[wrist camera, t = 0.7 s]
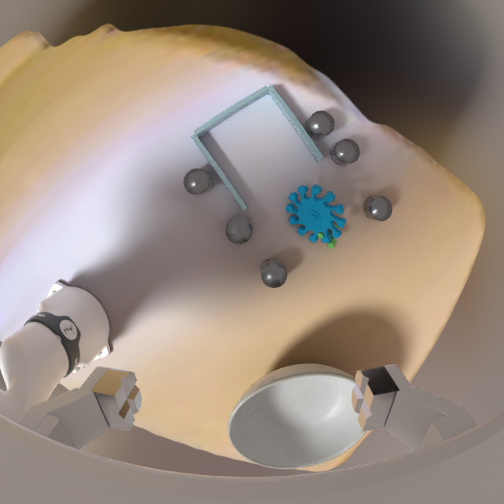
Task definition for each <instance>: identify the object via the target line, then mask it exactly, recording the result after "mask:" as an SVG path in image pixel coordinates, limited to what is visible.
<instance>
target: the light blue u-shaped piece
mask: <svg viewBox="0 0 504 504" xmlns="http://www.w3.org/2000/svg"><path fill="white" fill-rule="evenodd" d="M267 93H268V94H269V95H270V96H271V98H272V99H273V100H274V101H275V103H276V104H277V105H278V107H279V108H280V109H281V111H282V112H283V113H284V115H285V116H286V117H287V119H288V120H289V121H290V123H291V124H292V126H293V127H294V128H295V130H296V131H297V133H298V134H299V135H300V137H301V138H302V140H303V141H304V143H305V144H306V145H307V147H308V148H309V150H310V151H311V153H312V154H313V156H314V157H315V159H316V160H317V161H319V160H321V159H323V158H324V157H323V155H322V154H321V152H320V151H319V149H318V148H317V146H316V145H315V143H314V142H313V140H312V139H311V138H310V136H309V135H308V133H307V132H306V130H305V129H304V128H303V126H302V125H301V123H300V122H299V121H298V119H297V118H296V117H295V115H294V114H293V112H292V111H291V110H290V108H289V107H288V106H287V104H286V103H285V102H284V101H283V99H282V98H281V97H280V95H279V94H278V93H277V92H276V90H275V89H274V88H273V86H272V85H271V86H269V87H267V86H265V87H263V88H261V89H259V90H258V91H256V92H254V93H252V94H251V95H249V96H247V97H246V98H244V99H242V100H241V101H239V102H238V103H236V104H234V105H233V106H231V107H230V108H228V109H226V110H225V111H223V112H222V113H220V114H219V115H217V116H216V117H214V118H213V119H211V120H210V121H208V122H207V123H205V124H204V125H202V126H201V127H199V128H198V129H197V130H195V131H194V133H195V134H193V135H192V136H191V137H192V139H193V140H194V141H195V143H196V144H197V146H198V147H199V148H200V150H201V151H202V153H203V154H204V156H205V157H206V158H207V160H208V161H209V163H210V164H211V165H212V167H213V168H214V170H215V171H216V172H217V174H218V175H219V177H220V178H221V180H222V181H223V182H224V184H225V185H226V187H227V188H228V190H229V191H230V192H231V194H232V195H233V197H234V198H235V200H236V201H237V202H238V204H239V205H240V207H241V208H242V210H243V211H244V210H245V209H247V208H248V207H247V206H246V204H245V203H244V201H243V200H242V199H241V197H240V196H239V194H238V193H237V191H236V190H235V189H234V187H233V186H232V184H231V183H230V181H229V180H228V179H227V177H226V176H225V174H224V173H223V171H222V170H221V169H220V167H219V166H218V164H217V163H216V162H215V160H214V159H213V157H212V156H211V155H210V153H209V152H208V150H207V149H206V148H205V146H204V145H203V143H202V142H201V141H200V139H199V137H200V136H201V135H203V134H204V133H206V132H207V131H209V130H210V129H212V128H213V127H215V126H216V125H218V124H219V123H221V122H222V121H224V120H225V119H227V118H228V117H230V116H231V115H233V114H234V113H236V112H238V111H239V110H241V109H242V108H244V107H246V106H247V105H249V104H251V103H252V102H254V101H256V100H257V99H259V98H261V97H262V96H264V95H266V94H267Z"/></svg>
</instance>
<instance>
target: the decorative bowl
mask: <svg viewBox="0 0 504 504" xmlns="http://www.w3.org/2000/svg"><path fill="white" fill-rule="evenodd" d="M356 384H357V383H356V381H355V377H353V376H351V375H350V374H348V373H346V372H344V371H342V370H340V369H337V368H334V367H331V366H327V365H321V364H296V365H290V366H286V367H283V368H280V369H277V370H275V371H273V372H271V373H269V374H267V375H265V376H263V377H262V378H260V379H259V380H258V381H256V382H255V383H254V384H253V385H252V386H251V387H249V388H248V390H247V391H246V392H245V393H244V394H243V395H242V396H241V398H240V399H239V401H238V402H237V404H236V405H235V407H234V409H233V411H232V413H231V415H230V418H229V421H228V428H227V431H228V437H229V440H230V442H231V444H232V446H233V447H234V448H235V450H236V451H237V452H238V453H239V454H240V455H242V456H243V457H244V458H246V459H248V460H250V461H252V462H254V463H256V464H259V465H262V466H266V467H271V468H279V469H296V468H304V467H309V466H314V465H317V464H321V463H324V462H326V461H329V460H331V459H333V458H335V457H337V456H339V455H341V454H343V453H344V452H346V451H347V450H349V449H350V448H351V447H353V446H354V445H355V444H356V443H357V442H358V441H359V440H360V439H361V438H362V437H363V436H364V434H365V433H366V432H367V431H362V429H361V426H360V424H359V422H358V416H359V414H358V413H356V412H355V411H354V409H353V406H352V390H353V388H354V386H355V385H356Z"/></svg>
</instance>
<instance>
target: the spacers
mask: <svg viewBox="0 0 504 504" xmlns="http://www.w3.org/2000/svg"><path fill="white" fill-rule="evenodd" d="M333 128H334V119H333V118H332V116H331V115H330V114H329V113H327V112H325V111H317V112H315V113H313V114H312V116H311V117H310V118H309V119H308V120H307V122H306V130H307V132H308V134H309V135H311V136H312V137H314V138H323V137H324V136H326V135H327V134H329V133H330V132H331V131H332V130H333ZM330 154H331V158H332V159H333V161H334V162H335V163H337V164H339V165H346V164H350V163H353V162H355V161H356V160H357V159H358V158H359V154H360V150H359V147H358V145H357V144H356V143H355V142H354V141H353V140H350V139H343V140H341V141H339V142H337V143H336V144H334V145H333V146H332V148H331V151H330ZM184 186H185V188H186V190H187V191H188V192H190V193H191V194H204V193H206V192H208V191H209V190H210V188H211V186H212V178H211V176H210V174H209V173H207V172H206V171H204V170H202V169H192V170H190V171H189V172H188V173H187V174H186V176H185V178H184ZM364 212H365V214H366V216H367V217H369V218H371V219H375V220H379V221H385V220H387V219H388V218H389V217H390V216H391V213H392V205H391V202H390V201H389V200H388V199H387V198H385V197H376V196H372V197H369V198H368V199H367V200H366V201H365V203H364ZM226 234H227V237H228V238H229V240H230V241H232V242H233V243H236V244H242V243H245V242H247V241H248V240H249V239H250V237H251V235H252V225H251V222H250V221H249V220H248V219H247V218H246V217H243V216H237V217H234V218H233V219H231V220H230V222H229V223H228V225H227V228H226ZM261 275H262V280H263V282H264V283H265V284H266V285H267V286H268V287H271V288H277V287H280V286H281V285H283V284H284V283H285V281H286V278H287V272H286V270H285V268H284V265H283V264H282V262H281V261H279V260H277V259H268V260H266V261H265V262H264V263H263V264H262V266H261Z"/></svg>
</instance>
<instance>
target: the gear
mask: <svg viewBox="0 0 504 504" xmlns="http://www.w3.org/2000/svg"><path fill="white" fill-rule="evenodd" d="M307 190H308V188H307V186H300V187H298V192H299V193H300V195H301V199H302V202H300V201H299V200H298V194H297V193H296V192H293V193H292V194H291V195H289V196H288V198H289V200H291V201H292V202H294V203H295V205H296V206H297V208H298V210H297V209H296V208H295V207H294V205H293V204H292V203H289V204H288V205H287V206H286V211H287V212H291V213H294V214H295V215H297V216H298V217H299V219H298V218H297V217H296V216H291V217H290V218H289V222H290V224H291V225H294V224H302V225H304V226H305V227H300V228H299V229H298V230H297V232H298V233H299V234H300V236H303V235H304V234H305V233H306V231H309V230H312V231H313V232H314V233H313V234H311V236H310V237H309V240H310V241H312V242H314V243H315V242H316V241H317V240H318V237H319V238H322V242H323V243H328V247H329V248H331V249H332V248H333V247H334V246H335V244H336V240H335V239H333V238H338V237H340V235H341V234H342V232H341V231H340V230H339V229H337V225H338V227H340V228H343V226H344V225H345V223H346V219H344V218H340V217H337V216H336V215H334V214H333V213H332V211H335V212H336V213H337V214H342V213H343V211H344V208H343V205H342V204H338V205H336V206H332V205H328V204H329V202H332V201H333V200H334V199H335V195H334V194H333V193H332V192H331V191H329V192H328V193H327V194H326V196H325V197H324V198H321V199H319V198H317V197H316V194H319V193H320V192H321V190H322V188H321V187H320V186H318V185H316V184H315V185H314V186H313V187H312V188H311V190H312V195H311V197H310V198H308V197H307V196H306V192H307ZM333 221H335V222H336V223H337V225H334V223H333Z"/></svg>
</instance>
